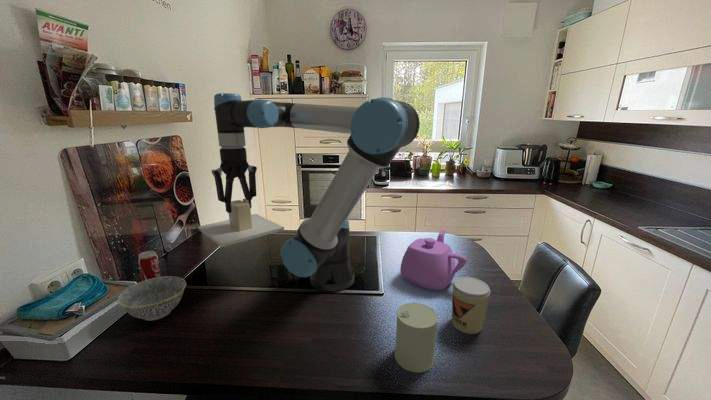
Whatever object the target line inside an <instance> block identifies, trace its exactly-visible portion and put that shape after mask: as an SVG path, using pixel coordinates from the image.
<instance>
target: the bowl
mask: <svg viewBox="0 0 711 400" xmlns="http://www.w3.org/2000/svg"><path fill="white" fill-rule="evenodd" d="M186 287H187V281H186V280H185V279H184V278H182V277H181V276H174V275H173V276H172V275H171V276H170V275H166V276H161V277H157V278H152V279H148V280H145V281H142V280H141V281H140V282H137V283H134V284H132V285H131V286H128V288H126V289H124V290H123V291H122V292H121V293H120V294H119V295H118V296H117V299H116V300H117V301H116V302H117V303H118V304H119V305H120V307H121V308H123V309H124V310H125V311H126V312H127V313H128V315H130V316H132V317H133V318H136V319H141V320H144V321H149V322H150V321H151V322H153V321H158V320H160V319H162V318H165V317H167V316H168V315H170V313H171V312H172V310H173V309H175V308H176V307H177V305H178V304H179V303H180V301H181V300H182V297H183V294H184V291H185V289H186Z"/></svg>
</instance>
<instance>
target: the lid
mask: <svg viewBox="0 0 711 400" xmlns="http://www.w3.org/2000/svg"><path fill="white" fill-rule="evenodd" d="M231 202H233V203H234V210H235V219H236V223H233V222H231V221H230V215H229V214H228V219H226V220H222V221H217V222H213V223H208V224H204V225H199V226H198V230H199V231H200V232H202V234H204V235H206V237H208V238H209V239H210V240H212V242H215V244H217V245H218V246H219V247H220V248H224V247H227V246H231V245H235V244H238V243H242V242H246V241H250V240H252V239H257V238H259V237H264V236H267V235H271V234H274V233H275V234H276V233H278V232H282V231H284V230H285V227H284V226H283V225H280V224H279V223H276V222H275V221H272V220H269V219H268V218H265V217H264V216H262V215H260V214H258V213H254V214H252V213H251V212H252V211H251V209H252V208H251V209H250V204H248V203H245V202H243V200H241V199H237V200H231Z"/></svg>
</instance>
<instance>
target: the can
mask: <svg viewBox="0 0 711 400" xmlns="http://www.w3.org/2000/svg"><path fill="white" fill-rule="evenodd" d="M438 316H439V315H438V313H437V312H436V311H435V310H434V309H433V308H432V307H431V306H429V305H426V304H424V303H419V302H407V303H404V304H402V305H400V306H399V307H398V308H397V310H396V332H395V333H396V334H395V349H394V359H395V361H396V363H397V364H398V366H400V367H401V368H402V369H404V370H406V371H409V372H410V373H418V374H419V373H425V372H428V371H430V370H431V369H432V367H433V366H434V365H435V349H436V338H437V327H438V321H439V317H438Z"/></svg>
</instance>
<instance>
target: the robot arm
mask: <svg viewBox="0 0 711 400" xmlns="http://www.w3.org/2000/svg"><path fill="white" fill-rule="evenodd" d="M213 100H214V102H213V104H214V107H213V110H214V114H215V123H216V129H217V139H218V146H219V147H221V148H219V157H220V165H219V167H218V168H216V169H212V170H211V174H212V176H213V178H214V182H215V188H216V195H217V200H218V201H219V202H221V203H225V204H224V205H225V206H224V207H225V211H226V213H228V216H229V215H230V221H231V222H233V223H236V219H235V210H234V203H233V202H231V201H232V198H233V197H232V196H233V195H232V194H233V187H234V186H233V185H234V181H235V178H238V180H239V183H240V187H241V190H242V193H243V196H244V198H242V201H243V202H245V203H248V204H250V209H252V200H253V198H255V197H256V196H257V181H256V180H257V178H256V173H257V170H258V167H257V166H254V165H250V164H249V162H248V159H247V158H248V157H247V148H246V147H245V146H247V145H246V144H247V143H246V136H245V135H246V134H245V128H255V129H268V128H269V129H270V128H290V129H302V130H309V131H310V130H312V131H319V132H320V131H321V132H331V133H339V134H347V135H349V137H348V138H347V140H346V144H347V147H348V152H347V153H346V155H345V157H344V159H343V161H342V162H341V164H340V165H339V167H338V169H337V171H336V173H335V174H334V176H333V178H332V179H331V181H330V183H329V185H328V187H327V189H326V190H325V191H324V194H323V196H322V197H321V198H320V200H319V202H318V205H317V206H316V208H315V210H314V211H313V213H312V215H311V217H310V218H308V219H305V220H302V222H301V223H300V224H299V226H298V228H297V230H296V232H295V234H294V235H293V236H292V237H291V238H288V239H287V240H286V241H285V242H283V244H282V245H281V248H280V257H281V260H282V263H283V264H284V266H285V267H286V269H287V270H288V271H289V272H290V273H291V274H292V275H294V276H296V277H298V278H308V277H309V279H310V284H311V286H312V287H313V288H314V289H317V290H319V291H321V290H322V292H327V291H335V292H340V291H339V290H341V291H344V290H346V289H348V288H350V287H351V286H352V285H353V284H354V282H355V271H354V268H353V266H352V263H351V259H350V221H349V219H348V218H349V216H350V215H351V213H352V211H353V210H354V209H355V206H356V205H357V204H358V202H359V201H360V199H361V197H362V196H363V194H364V193H365V191H366V190H367V188H368V187H369V185H370V184H371V182H372V181H373V179H374V177H375V176H376V174H377V172H378V171H379V170H380V169H386V168H388V167H389V166H390V164H391V163H392V161H393V160H394V159H395V157H396V155H397V154H398V152H399V151H400V149H401V148H403V147H406V146H408V145H409V144H411V143H412V142H413V141H414V140H415V139H416V137H418V133H419V130H420V125H421V124H420V118H419V113H418V112H417V110H416V109H415V108H414V107H413V106H412V105H411V104H410V103H407V102H405V101H401V100H396V99H393V98H390V97H377V98H372V99H369V100H366V101H364V102H363V103H362V104H361V105H359V106H348V105H347V106H346V105H345V106H343V105H327V104H314V103H313V104H312V103H296V102H295V103H294V102H285V101H284V102H280V101H272V100H269V99H260V98H259V99H249V100H247V99H246V100H242V96H241V95H240V94H238V93H232V92H231V93H230V92H226V93H223V92H221V93H215V94H214V96H213ZM222 172H223V173H224V174H225V188H224V185H223V179H222V176H223V175H222ZM246 172H248V181H247V177H246ZM224 189H225V190H224Z"/></svg>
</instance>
